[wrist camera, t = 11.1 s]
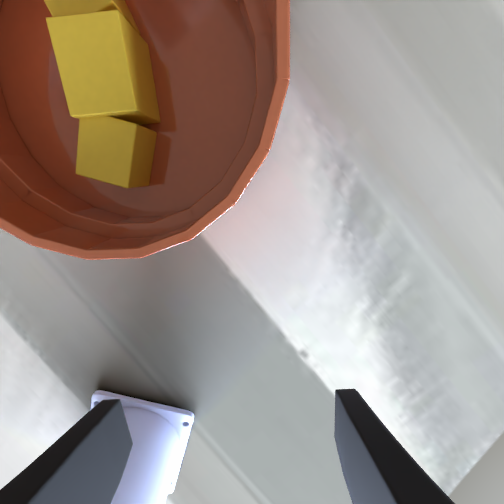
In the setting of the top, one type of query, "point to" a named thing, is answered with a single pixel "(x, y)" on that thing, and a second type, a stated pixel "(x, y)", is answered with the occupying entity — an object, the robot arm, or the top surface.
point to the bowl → (168, 130)
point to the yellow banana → (106, 88)
